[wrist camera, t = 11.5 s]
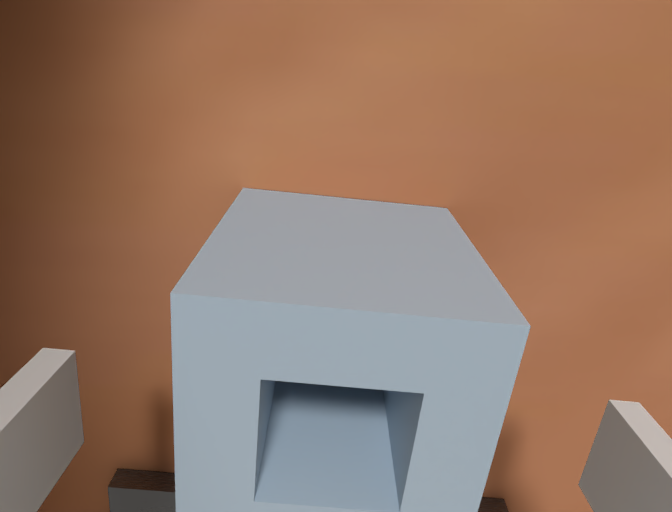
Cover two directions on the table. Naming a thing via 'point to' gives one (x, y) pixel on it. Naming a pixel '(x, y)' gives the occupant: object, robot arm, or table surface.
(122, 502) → the post plate
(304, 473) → the hollow square cube
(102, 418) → the table surface
